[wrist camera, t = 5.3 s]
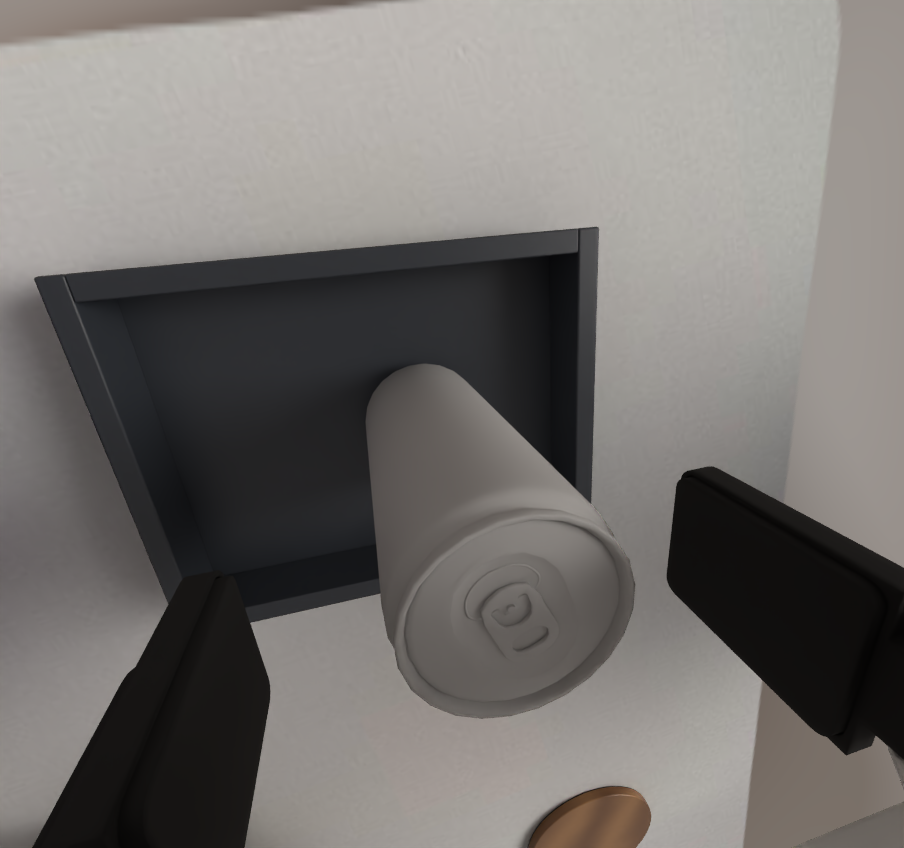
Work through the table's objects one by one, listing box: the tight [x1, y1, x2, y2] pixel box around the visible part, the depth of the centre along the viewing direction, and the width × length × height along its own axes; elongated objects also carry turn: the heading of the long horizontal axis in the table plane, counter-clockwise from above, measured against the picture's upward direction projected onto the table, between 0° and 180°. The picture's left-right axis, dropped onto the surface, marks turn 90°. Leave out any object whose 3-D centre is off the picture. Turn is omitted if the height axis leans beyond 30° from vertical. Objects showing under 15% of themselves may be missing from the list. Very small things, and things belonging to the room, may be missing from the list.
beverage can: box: [365, 363, 635, 719], centre depth 13 cm, size 5×5×12 cm
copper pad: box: [528, 787, 651, 848], centre depth 33 cm, size 10×10×1 cm
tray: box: [34, 227, 599, 623], centre depth 17 cm, size 18×14×3 cm
